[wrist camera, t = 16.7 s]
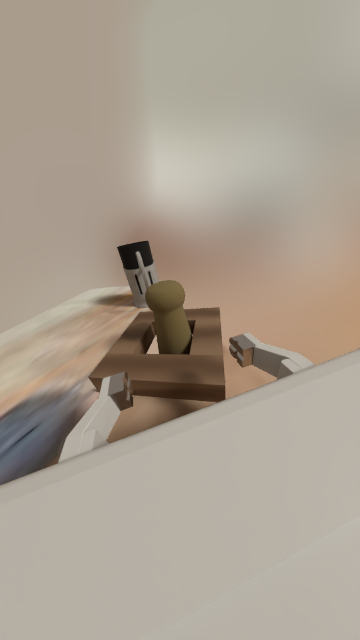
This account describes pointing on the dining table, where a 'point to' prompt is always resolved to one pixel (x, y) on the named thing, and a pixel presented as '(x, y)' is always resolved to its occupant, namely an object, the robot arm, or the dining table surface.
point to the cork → (169, 317)
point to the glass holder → (138, 269)
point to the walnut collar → (169, 360)
